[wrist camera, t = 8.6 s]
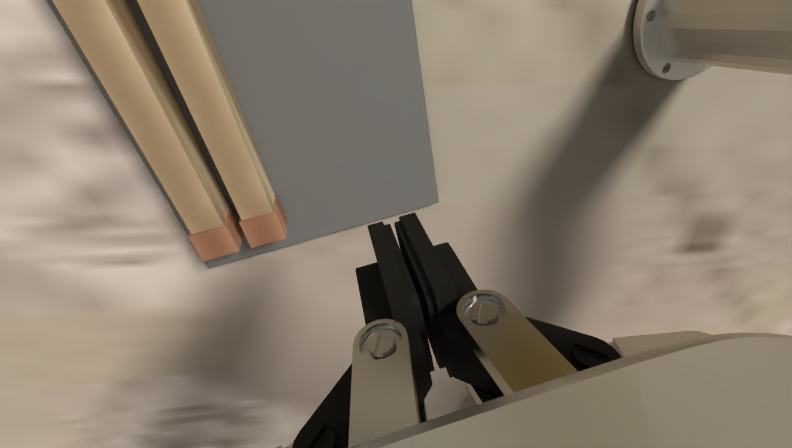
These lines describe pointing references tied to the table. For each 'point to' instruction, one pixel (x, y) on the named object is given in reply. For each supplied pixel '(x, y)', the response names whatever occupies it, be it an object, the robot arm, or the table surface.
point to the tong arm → (217, 114)
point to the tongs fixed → (154, 119)
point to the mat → (318, 108)
